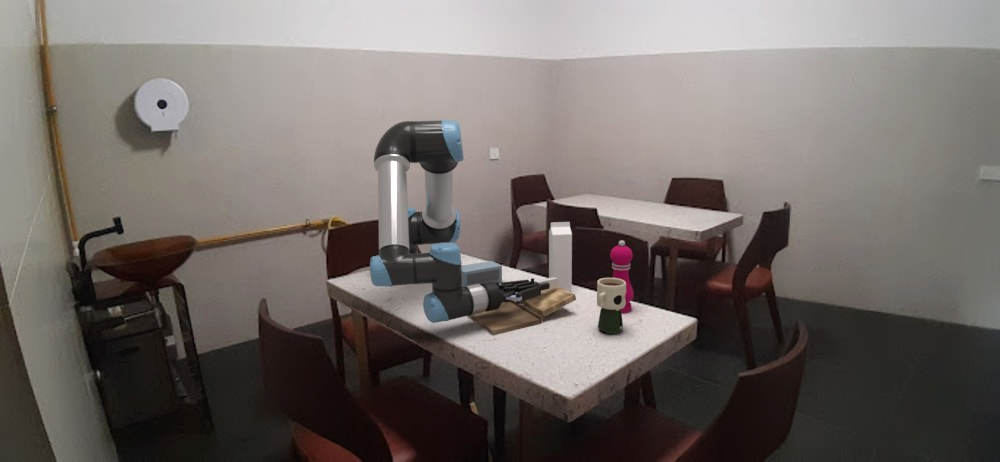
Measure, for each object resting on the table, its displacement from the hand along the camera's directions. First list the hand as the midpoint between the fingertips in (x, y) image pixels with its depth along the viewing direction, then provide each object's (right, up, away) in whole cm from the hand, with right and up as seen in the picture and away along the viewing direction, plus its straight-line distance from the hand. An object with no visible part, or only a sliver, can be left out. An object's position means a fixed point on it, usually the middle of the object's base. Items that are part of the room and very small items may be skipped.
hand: (555, 282), depth 146 cm
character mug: (+12, -11, -15) cm, 22 cm away
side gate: (-9, -6, -2) cm, 11 cm away
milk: (+3, -4, +16) cm, 17 cm away
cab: (-22, -7, +6) cm, 24 cm away
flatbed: (-16, -9, -5) cm, 19 cm away
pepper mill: (+18, -8, -1) cm, 20 cm away
